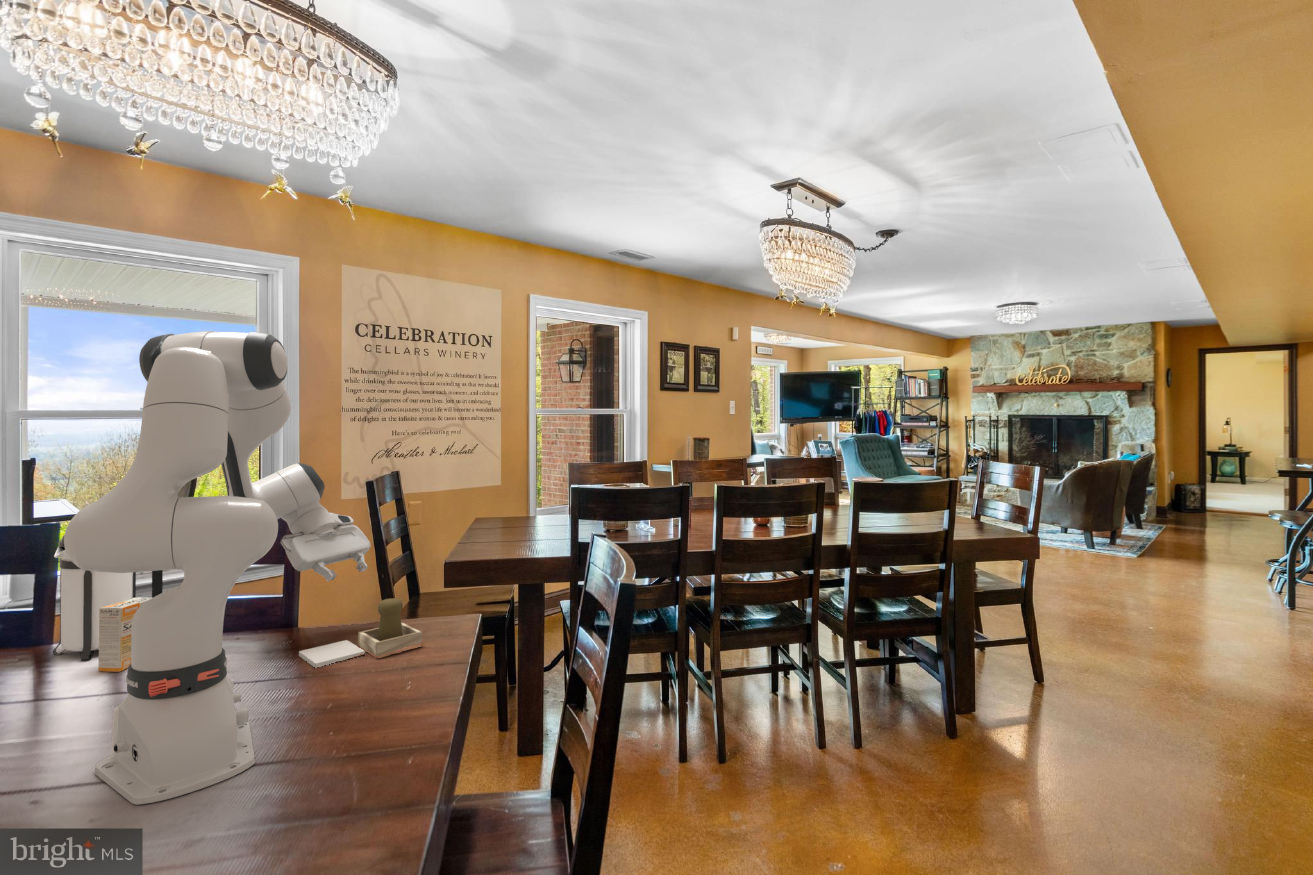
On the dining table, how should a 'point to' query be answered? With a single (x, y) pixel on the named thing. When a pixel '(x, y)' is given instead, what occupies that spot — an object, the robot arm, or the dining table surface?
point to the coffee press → (90, 601)
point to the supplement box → (117, 634)
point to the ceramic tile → (330, 653)
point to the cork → (390, 619)
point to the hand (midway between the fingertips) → (348, 574)
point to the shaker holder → (388, 640)
